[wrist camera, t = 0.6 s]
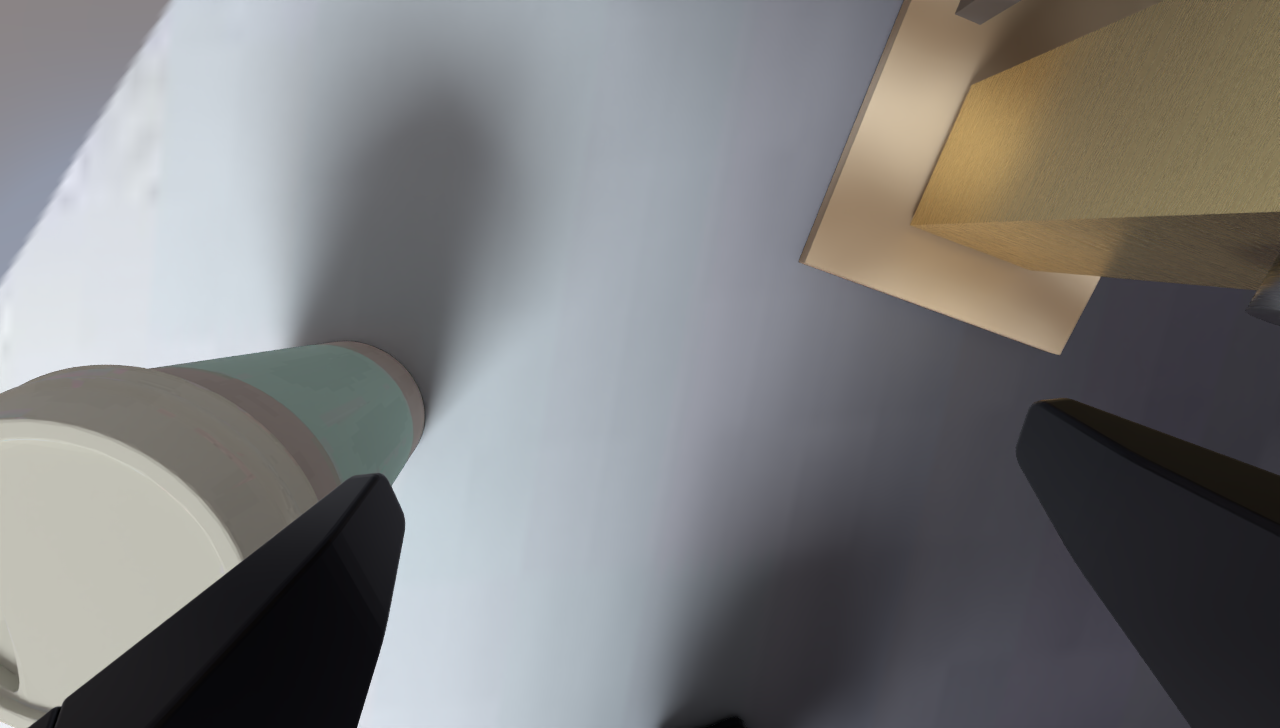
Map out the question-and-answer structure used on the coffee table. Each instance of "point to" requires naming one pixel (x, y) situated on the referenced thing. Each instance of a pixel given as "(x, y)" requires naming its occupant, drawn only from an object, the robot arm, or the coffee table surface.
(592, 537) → the coffee table surface
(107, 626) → the coffee cup
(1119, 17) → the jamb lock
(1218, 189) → the latch bar
